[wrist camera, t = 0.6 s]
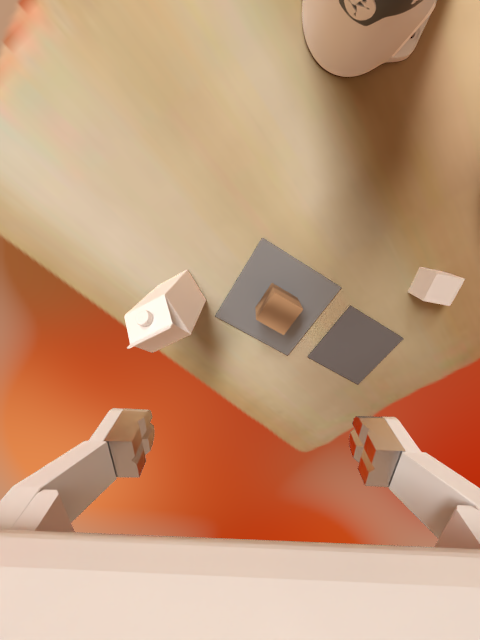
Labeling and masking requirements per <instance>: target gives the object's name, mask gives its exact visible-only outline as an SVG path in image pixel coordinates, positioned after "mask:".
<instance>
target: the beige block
mask: <svg viewBox="0 0 480 640" xmlns="http://www.w3.org/2000/svg"><path fill="white" fill-rule="evenodd" d="M464 280H465V279H464V278H461V277H458V276H456V275H453V274H450V273H447V272H444V271H439V270H434V269H429V268H424V267H419V269H418V271H417V273H416V275H415V278H414V280H413V282H412V284H411V286H410V288H409V290H408V293H410V294H412V295H414V296H415V297H417V298H419V299H421V300H422V301H426V302H431V303H437V304H442V305H447V306H450V305H451V303H452V302H453V300H454V298H455V296H456V295H457V293H458V291H459V289H460V287H461V286H462V284H463V282H464Z"/></svg>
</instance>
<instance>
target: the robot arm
mask: <svg viewBox="0 0 480 640" xmlns="http://www.w3.org/2000/svg"><path fill="white" fill-rule="evenodd" d="M436 2H437V0H303V2H302V22H303V30H304V35H305V39H306V42H307V45H308V47H309V50H310V52H311V53H312V55H313V57H314V58H315V60H316V61H317V62H318V63H319V64H320V65H321V66H322V67H323V68H324V69H325V70H327V71H328V72H330V73H332V74H335V75H338V76H343V77H353V76H358V75H362V74H364V73H367V72H369V71H371V70H372V69H374V68H376V67H378V66H379V65H381V64H383V63H386V62H397V61H402V60H405V59H406V58H408V57H409V55H410V54H411V53H412V52H413V50H414V49H415V47H416V45H417V43H418V40H419V38H420V36H421V34H422V32H423V30H424V28H425V26H426V23H427V21H428V19H429V17H430V15H431V13H432V11H433V10H434V8H435V6H436V5H435V4H436ZM411 36H412V39H410V37H411ZM151 419H152V414H151V411H150V410H141V409H118V408H113V409H111V410H110V411H109V412H108V413H107V415H106V416H105V418H104V419H103V421H102V422H101V424H100V425H99V426H98V428H97V429H96V431H95V432H94V434H93V435H92V437H91V438H90V439H89V441H84V442H82V443H81V444H79V445H77V446H76V447H74V448H73V449H71V450H69V451H68V452H66V453H65V454H63V455H62V456H60V457H58V458H57V459H55V460H54V461H52V462H51V463H49V464H47V465H46V466H44V467H43V468H41V469H40V470H38V471H36V472H35V473H33V474H32V475H30V476H29V477H27V478H25V479H24V480H22V481H21V482H19V483H18V484H16V485H14V486H13V487H12V488H11V489H10V490H9V491H8V493H7V494H6V495H5V496H4V497H3V499H2V500H1V501H0V640H480V488H478V487H477V486H475V485H474V484H472V483H471V482H469V481H468V480H466V479H465V478H463V477H462V476H460V475H459V474H457V473H456V472H454V471H453V470H451V469H450V468H448V467H447V466H445V465H444V464H442V463H441V462H439V461H438V460H436V459H435V458H433V457H432V456H430V455H429V454H427V453H425V452H421V451H420V449H419V448H418V447H417V445H416V444H415V442H414V441H413V440H412V438H411V437H410V436H409V434H408V433H407V431H406V430H405V428H404V427H403V426H402V424H401V423H400V421H399V420H398V419H397V418H395V417H364V416H356V417H355V418H354V419H353V423H352V424H353V426H354V428H355V429H354V430H352V431H351V432H350V436H349V447H350V451H351V453H352V456H353V458H354V459H355V460H356V461H358V462H359V466H358V470H359V473H360V475H361V477H362V480H363V482H364V484H365V486H378V487H389V489H390V490H391V491H392V492H393V493H394V494H395V495H396V496H397V497H398V498H399V499H400V500H401V501H402V502H403V503H404V504H405V505H406V506H407V507H408V508H409V510H410V511H411V512H413V514H414V515H415V516H416V517H417V518H418V519H419V520H420V521H421V522H422V523H423V524H424V525H425V526H426V527H427V528H428V529H429V530H430V531H431V532H432V533H434V535H435V536H436V537H437V538H438V539H439V540H438V542H437V543H436V545H435V547H416V546H392V545H368V544H367V545H366V544H343V543H341V544H340V543H319V542H295V541H270V540H269V541H268V540H245V539H222V538H197V537H173V536H172V537H171V536H149V535H125V534H102V533H78V532H77V533H76V532H74V529H73V527H72V525H71V522H72V521H73V520H74V519H75V518H76V517H77V516H78V515H80V514H81V513H82V512H83V511H84V510H85V509H86V508H87V507H88V506H89V505H90V504H91V503H92V502H93V501H94V500H95V499H96V498H97V497H98V496H99V495H100V494H101V493H102V492H103V491H104V490H105V489H106V488H107V487H108V486H109V485H110V484H112V483H113V482H114V481H115V480H116V477H140V475H141V472H142V469H143V467H144V465H145V462H146V458H145V455H146V454H147V453H148V452H149V451H150V450H151V447H152V445H153V440H154V426H153V425H152V424H151V423H150V421H151Z"/></svg>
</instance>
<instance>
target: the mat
mask: <svg viewBox="0 0 480 640" xmlns="http://www.w3.org/2000/svg"><path fill="white" fill-rule="evenodd" d="M402 340H403V338H402V337H400V336H399V335H397V334H396V333H394V332H392V331H391V330H389V329H388V328H386V327H384V326H383V325H381V324H379V323H378V322H376V321H375V320H373V319H371V318H370V317H368V316H366V315H365V314H363V313H362V312H360V311H358V310H357V309H355V308H354V307H352V306H350V307H349V308H348V309H347V310H346V311H345V313H344V314H343V315H342V316H341V317H340V318H339V320H338V321H337V322H336V323H335V324H334V326H333V327H332V328H331V329H330V330H329V332H328V333H327V334H326V335H325V336H324V338H323V339H322V340H321V341H320V342H319V344H318V345H317V346H316V347H315V348H314V350H313V351H312V352H311V353H310V354H309V356H308V357H309V358H310V359H312V360H314V361H316V362H318V363H319V364H321V365H323V366H325V367H327V368H329V369H330V370H332V371H334V372H336V373H338V374H339V375H341V376H343V377H345V378H347V379H349V380H350V381H352V382H354V383H356V384H359V383H360V382H361V381H362V380H363V379H364V378H365V377H366V376H367V375H368V374H369V373H370V372H371V371H372V370H373V369H374V368H375V367H376V366H377V365H378V364H379V363H380V362H381V361H382V360H383V359H384V358H385V357H386V356H387V355H388V354H389V353H390V352H391V351H392V350H393V349H394V348H395V347H396V346H397V345H398V344H399V343H400V342H401V341H402Z"/></svg>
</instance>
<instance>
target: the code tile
mask: <svg viewBox="0 0 480 640" xmlns="http://www.w3.org/2000/svg"><path fill="white" fill-rule="evenodd" d="M271 283H274V284H275V285H277V286H279V287H280V288H282V289H284V290H285V291H287V292H289V293H290V294H292V295H294V296H295V297H297V298H298V300H299V302H300V304H301V306H302V308H303V310H302V312H301V313H300V314H299V316H298V317H297V318H296V320H295V321H294V322H293V324H292V325H291V326H290V328H289V329H288V330H287V332H286V333H285V334H284V335H282V334H281V333H279V332H277V331H275V330H274V329H272V328H270V327H268V326H266V325H265V324H263V323H261V322H259V321H257V320H256V309H255V307H256V306H257V304H258V303H259V301H260V300H261V298H262V297H263V295H264V294H265V292H266V291H267V289H268V288H269V286H270V285H271ZM340 289H341V287H340V286H338V285H337V284H335V283H334V282H332V281H330V280H329V279H327V278H326V277H324V276H322V275H321V274H319V273H318V272H316V271H314V270H313V269H311V268H310V267H308V266H307V265H305V264H303V263H302V262H300V261H299V260H297V259H295V258H294V257H292V256H291V255H289V254H287V253H286V252H284V251H283V250H281V249H280V248H278V247H276V246H275V245H273V244H272V243H270V242H268V241H267V240H265V239H264V238H262V239H261V241H260V242H259V244H258V246H257V247H256V249H255V251H254V252H253V254H252V256H251V257H250V259H249V261H248V262H247V264H246V265H245V267H244V269H243V270H242V272H241V274H240V275H239V277H238V279H237V280H236V282H235V284H234V285H233V287H232V289H231V290H230V292H229V294H228V295H227V297H226V299H225V300H224V302H223V304H222V305H221V307H220V309H219V310H218V312H217V314H216V315H215V317H217V318H219V319H221V320H223V321H225V322H226V323H228V324H230V325H232V326H234V327H236V328H238V329H239V330H241V331H243V332H245V333H247V334H249V335H250V336H252V337H254V338H256V339H258V340H260V341H262V342H263V343H265V344H267V345H269V346H271V347H273V348H274V349H276V350H278V351H280V352H282V353H284V354H285V355H287V356H288V355H289V353H290V352H291V351H292V349H293V348H294V347H295V346H296V344H297V343H298V342H299V341H300V339H301V338H302V337H303V336H304V334H305V333H306V332H307V331H308V329H309V328H310V327H311V326H312V324H313V323H314V322H315V320H316V319H317V318H318V317H319V315H320V314H321V313H322V312H323V310H324V309H325V308H326V307H327V305H328V304H329V303H330V302H331V300H332V299H333V298H334V297H335V295H336V294H337V293H338V292H339V290H340Z"/></svg>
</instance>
